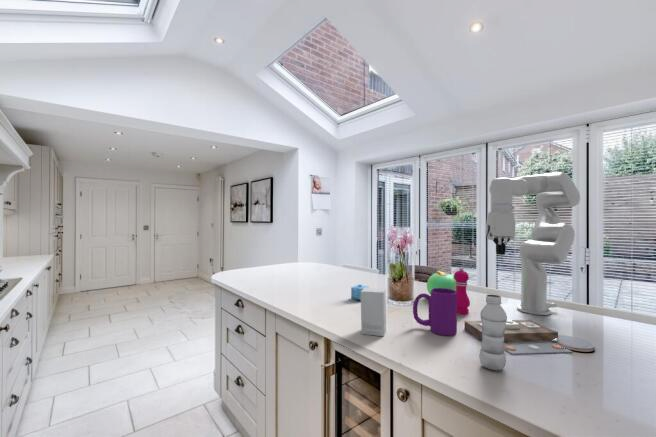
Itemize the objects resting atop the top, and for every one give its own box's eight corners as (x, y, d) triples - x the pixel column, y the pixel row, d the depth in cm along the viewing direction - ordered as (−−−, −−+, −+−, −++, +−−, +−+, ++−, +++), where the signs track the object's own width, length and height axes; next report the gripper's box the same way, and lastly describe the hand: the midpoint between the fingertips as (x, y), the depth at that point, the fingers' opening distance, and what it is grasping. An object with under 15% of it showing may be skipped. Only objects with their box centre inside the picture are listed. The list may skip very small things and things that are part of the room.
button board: (529, 327, 118) (529, 319, 118) (557, 341, 106) (557, 332, 106) (464, 328, 116) (464, 320, 116) (484, 343, 103) (485, 334, 103)
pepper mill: (466, 310, 140) (467, 266, 140) (472, 315, 132) (472, 268, 132) (449, 309, 140) (450, 265, 140) (454, 314, 133) (455, 268, 133)
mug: (455, 338, 107) (456, 295, 107) (410, 330, 114) (410, 289, 114) (457, 329, 115) (458, 289, 115) (415, 323, 122) (415, 285, 122)
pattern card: (554, 343, 103) (554, 341, 103) (572, 352, 96) (572, 350, 96) (497, 345, 102) (497, 343, 102) (511, 354, 95) (511, 352, 95)
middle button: (510, 328, 113) (510, 319, 113) (519, 332, 109) (519, 323, 109) (499, 328, 113) (499, 319, 113) (507, 332, 108) (507, 323, 108)
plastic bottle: (474, 362, 89) (475, 293, 89) (496, 362, 90) (497, 293, 90) (487, 374, 83) (488, 299, 83) (511, 373, 83) (512, 298, 83)
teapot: (358, 303, 149) (359, 288, 149) (347, 301, 152) (348, 286, 152) (369, 298, 159) (369, 283, 159) (359, 296, 163) (359, 282, 162)
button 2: (531, 330, 114) (531, 322, 114) (540, 335, 110) (540, 326, 110) (519, 330, 114) (520, 322, 114) (528, 335, 109) (528, 326, 109)
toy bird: (424, 295, 167) (424, 267, 167) (456, 296, 164) (457, 268, 164) (430, 304, 149) (430, 273, 149) (467, 306, 146) (467, 275, 146)
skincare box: (386, 331, 114) (387, 288, 113) (383, 337, 107) (384, 292, 107) (364, 328, 116) (364, 286, 116) (360, 334, 110) (360, 290, 110)
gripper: (512, 209, 129) (511, 253, 130) (478, 209, 128) (477, 253, 128) (525, 208, 122) (524, 255, 122) (489, 208, 121) (488, 255, 121)
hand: (500, 254), depth 125 cm, fingers closed
